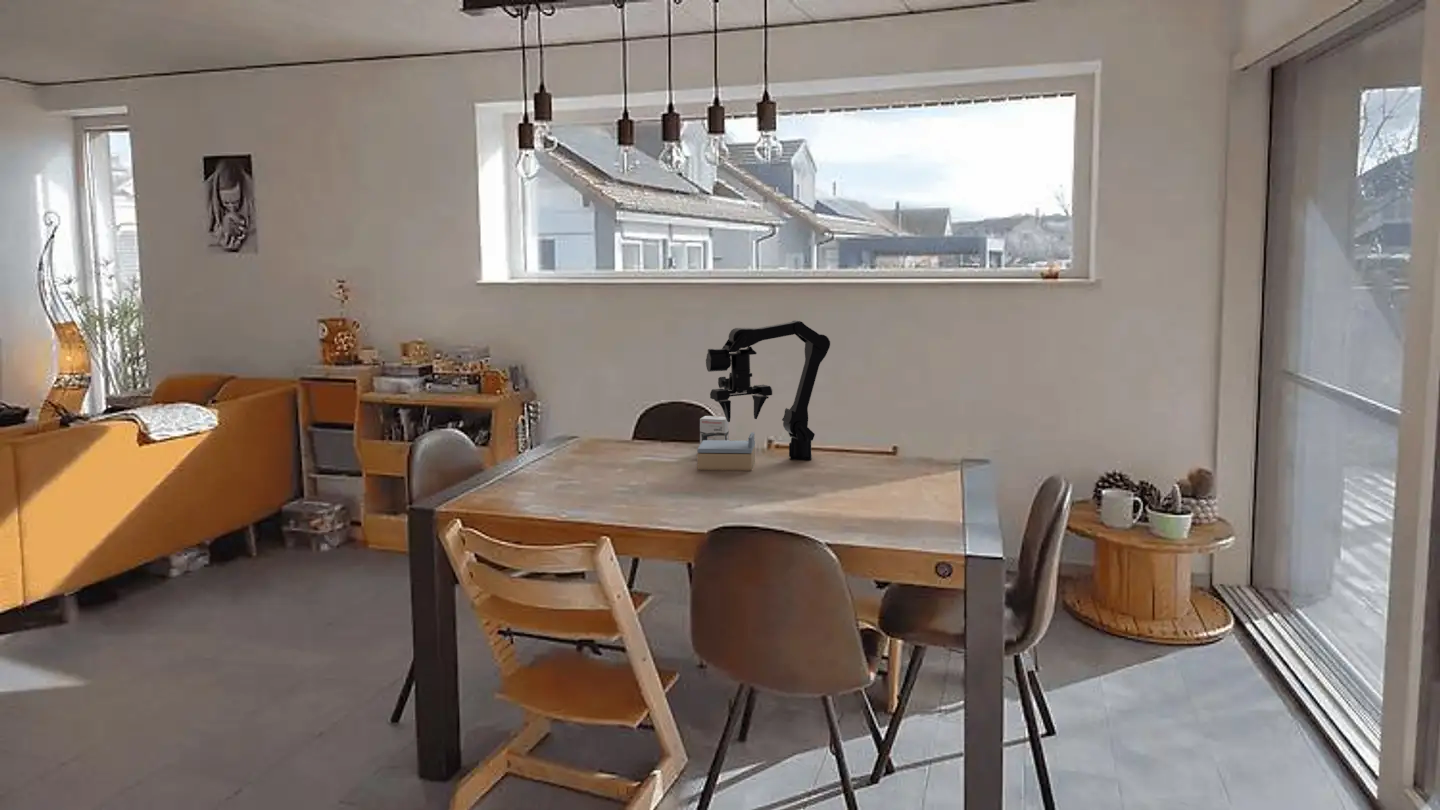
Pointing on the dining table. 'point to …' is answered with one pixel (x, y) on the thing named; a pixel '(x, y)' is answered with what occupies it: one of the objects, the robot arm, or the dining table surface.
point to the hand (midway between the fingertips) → (742, 420)
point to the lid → (727, 446)
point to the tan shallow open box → (726, 461)
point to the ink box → (714, 428)
